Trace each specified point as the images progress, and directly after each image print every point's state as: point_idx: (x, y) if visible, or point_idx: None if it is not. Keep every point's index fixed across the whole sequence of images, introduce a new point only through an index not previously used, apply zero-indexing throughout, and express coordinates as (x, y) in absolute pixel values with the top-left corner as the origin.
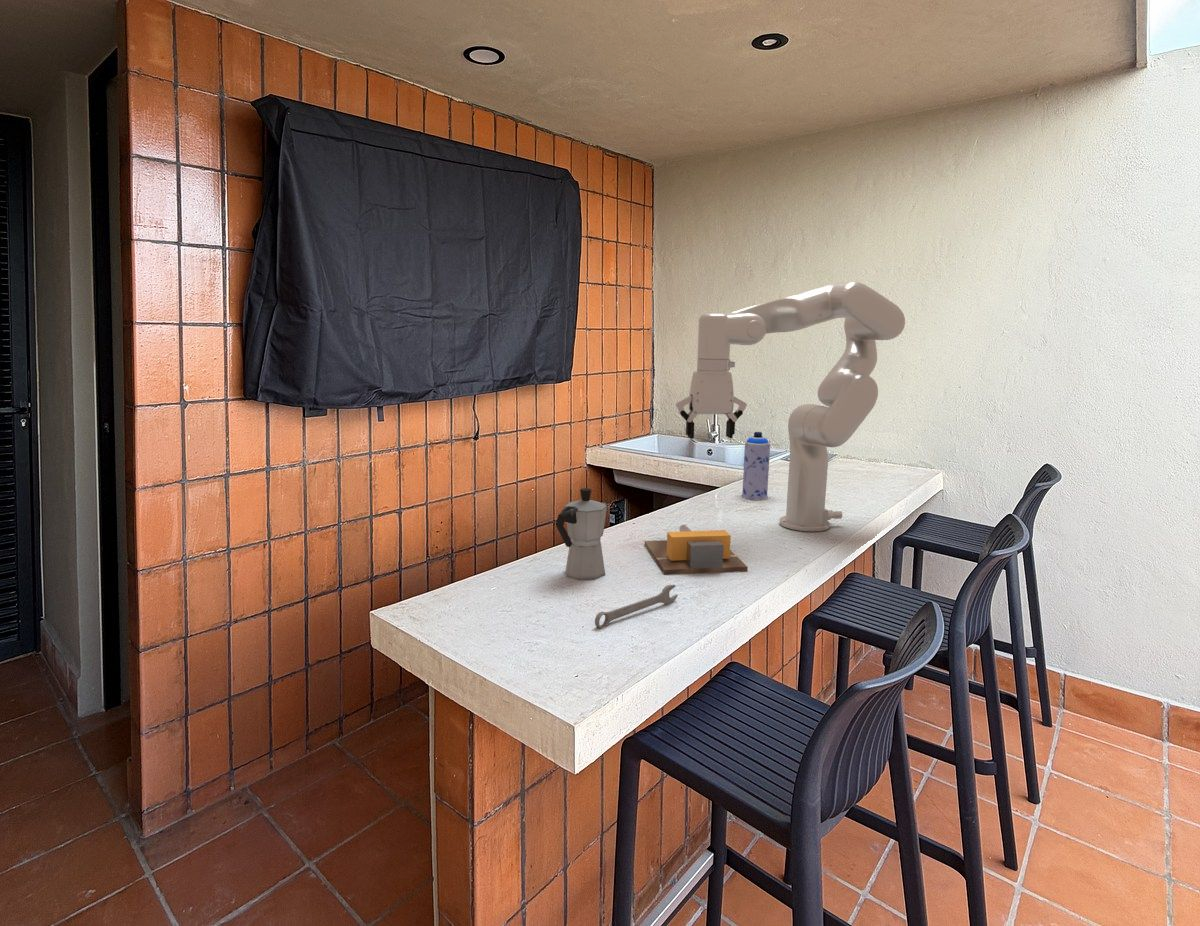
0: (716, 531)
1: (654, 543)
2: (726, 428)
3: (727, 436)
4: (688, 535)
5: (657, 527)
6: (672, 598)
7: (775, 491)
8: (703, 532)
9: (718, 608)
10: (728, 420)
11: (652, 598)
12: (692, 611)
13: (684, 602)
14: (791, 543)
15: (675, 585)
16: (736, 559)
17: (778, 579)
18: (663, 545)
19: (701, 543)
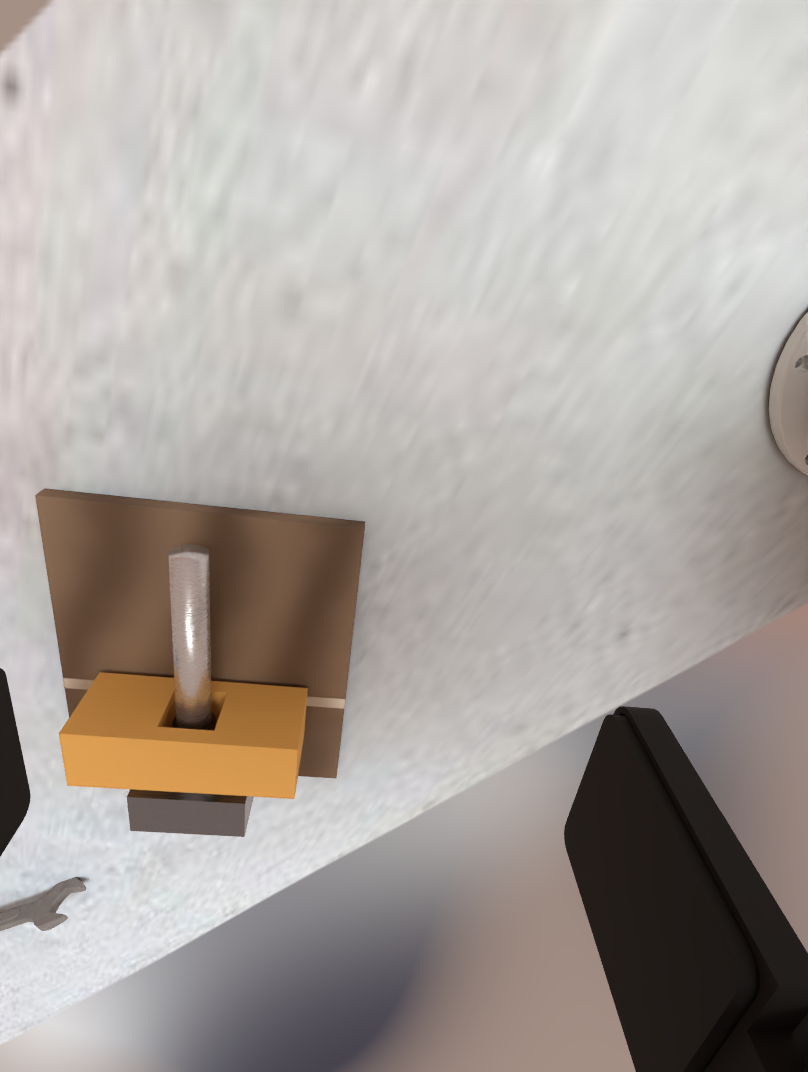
0: (258, 757)
1: (75, 534)
2: (658, 825)
3: (588, 771)
4: (136, 778)
5: (146, 220)
6: (73, 891)
7: None
8: (203, 759)
9: (176, 913)
10: (744, 1052)
11: (11, 926)
12: (115, 916)
13: (106, 884)
14: (633, 584)
15: (65, 919)
16: (329, 728)
17: (391, 819)
18: (110, 563)
19: (173, 818)
